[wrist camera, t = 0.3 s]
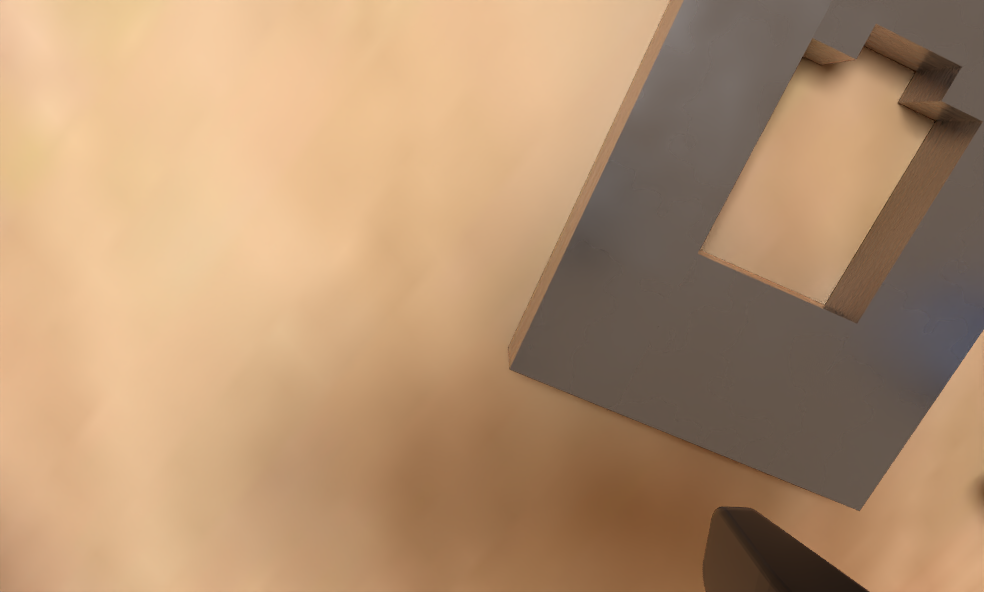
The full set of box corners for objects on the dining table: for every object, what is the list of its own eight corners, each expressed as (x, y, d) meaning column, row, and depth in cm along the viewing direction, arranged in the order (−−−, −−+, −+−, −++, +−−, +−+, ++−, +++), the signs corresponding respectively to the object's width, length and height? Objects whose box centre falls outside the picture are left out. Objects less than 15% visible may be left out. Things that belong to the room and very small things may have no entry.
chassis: (829, 478, 23) (859, 510, 22) (508, 347, 22) (509, 369, 20) (1151, -11, 19) (1225, -25, 17) (770, -214, 18) (804, -254, 16)
